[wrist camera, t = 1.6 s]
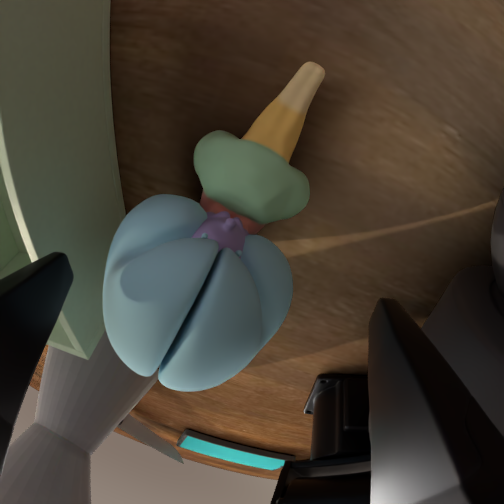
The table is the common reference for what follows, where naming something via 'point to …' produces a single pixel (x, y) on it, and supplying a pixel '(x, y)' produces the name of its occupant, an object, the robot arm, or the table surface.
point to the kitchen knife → (148, 437)
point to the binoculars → (475, 326)
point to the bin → (59, 153)
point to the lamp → (70, 425)
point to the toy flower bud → (211, 254)
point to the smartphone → (231, 451)
